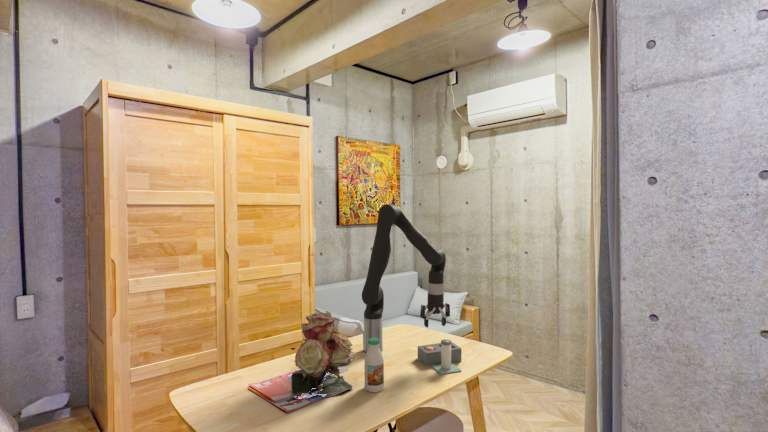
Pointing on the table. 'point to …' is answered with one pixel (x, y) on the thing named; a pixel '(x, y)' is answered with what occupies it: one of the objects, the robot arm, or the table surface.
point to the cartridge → (446, 354)
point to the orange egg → (429, 348)
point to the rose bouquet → (321, 357)
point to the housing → (437, 354)
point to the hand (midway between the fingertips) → (434, 326)
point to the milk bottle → (374, 367)
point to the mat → (443, 371)
